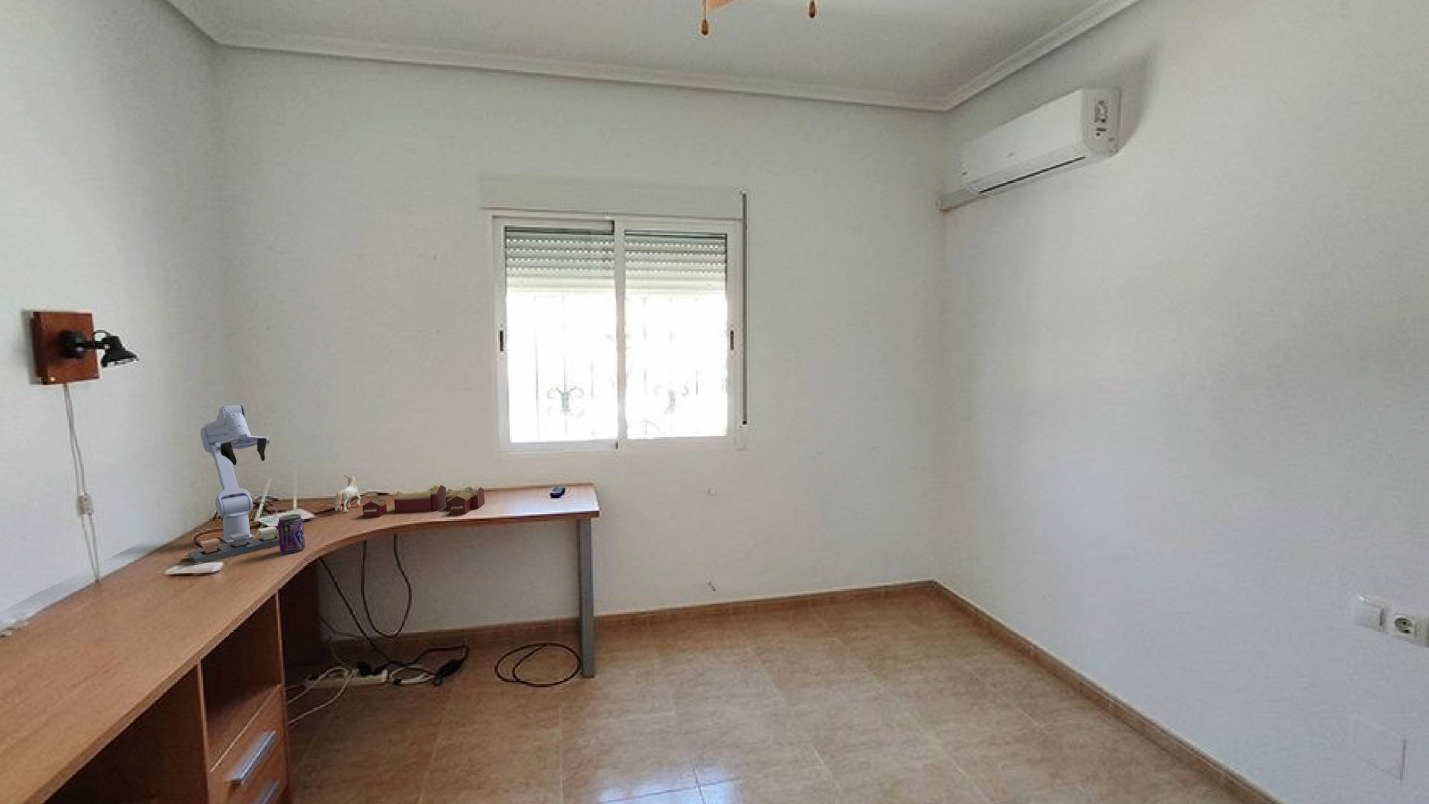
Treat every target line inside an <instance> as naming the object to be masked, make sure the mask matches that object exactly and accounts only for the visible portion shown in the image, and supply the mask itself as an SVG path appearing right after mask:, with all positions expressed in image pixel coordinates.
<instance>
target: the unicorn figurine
mask: <svg viewBox="0 0 1429 804" xmlns="http://www.w3.org/2000/svg"><path fill="white" fill-rule="evenodd" d="M343 476H344V477H345V478H346V479H347V482H348V484H347V486H346V487H345V488H342V489H340V490H338V491H337V492H336V495H335V502H334V505H333V508H334V510H335V511H336V512H337V511H338V512H344V513H349V512H350V511H349V508H350V509H351V507H352V505H351V501H352V498H354V497H357V501H356V507H357V508H360V507H361V496H360V494H359V489H358V486H357V479H356V477H355V476H354V475H353V476H352V475H350V476H347V475H345V474H344V475H343ZM342 500H343V506H342Z"/></svg>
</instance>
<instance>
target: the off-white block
mask: <svg viewBox="0 0 1429 804" xmlns="http://www.w3.org/2000/svg"><path fill="white" fill-rule="evenodd" d="M275 532H278V527H275V526H274V525H273V526H268V527H262V528H258V529H257V533H259V534H260V535H261V537H262V539H263V540H267V539H272V538H275V537H274V534H275Z"/></svg>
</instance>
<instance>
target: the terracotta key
mask: <svg viewBox="0 0 1429 804" xmlns="http://www.w3.org/2000/svg"><path fill="white" fill-rule="evenodd" d="M219 544H221V540H220V539H218V538H217V537H214V538H210V539H206V540H201V541H199V545H200V546H202V548H203V549H204V552H205V553H208V552H213V551H217V546H218V545H219Z"/></svg>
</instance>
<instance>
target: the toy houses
mask: <svg viewBox="0 0 1429 804" xmlns="http://www.w3.org/2000/svg"><path fill="white" fill-rule="evenodd" d="M485 500H486V499H485V489H484V488H483V487H469V488H468V487H465V488H464V487H460V488H459V487H458V488H448V489H447V487H446V486H443V485H442V484H441V485H440V484H439V485H436V484H435V485H433V487H431V488H428V489H426V490H409V491H408V490H403V491H402V490H401V491H397V492H396V494H395V495H394V496H393V502H394V503H393V504H394V505H393V506H394V512H395V514H396V513H397V514H400V513H401V514H402V513H419V512H420V513H421V512H425V513H426V512H435V511H437V512H438V511H440V510H442V509H444V507H445V508H446V511H449V514H450V515H449V516H455V515H456V516H460V515H461V516H463V515H467V514H468V513H469V512H470V511H472V510H479V509H481V508H482V507H483V506H484V505H485V504H486V501H485ZM388 503H389V502H388V501H386V500H384V499H381V498H379V497H376V498H374V499H373V500H370V501H368V502H367V503H364V504H363V505H360V507H361V508H362V516H363V518H364V519H368V518H381V517H383V516H384V515H386V514H387V513H388V509H387V508H388V507H387V504H388Z"/></svg>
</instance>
